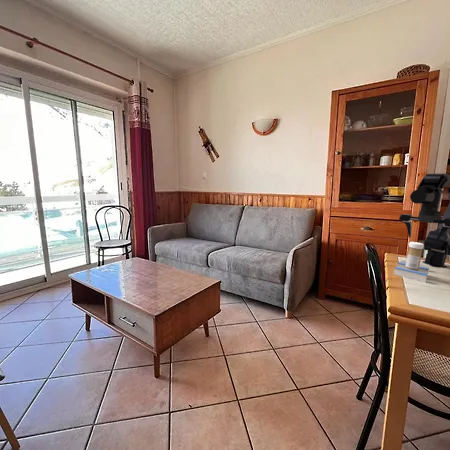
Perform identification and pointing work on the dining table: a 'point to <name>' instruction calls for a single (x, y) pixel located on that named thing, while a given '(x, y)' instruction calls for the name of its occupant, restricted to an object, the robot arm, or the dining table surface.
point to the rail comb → (412, 271)
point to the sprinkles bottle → (414, 256)
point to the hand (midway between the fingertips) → (422, 239)
